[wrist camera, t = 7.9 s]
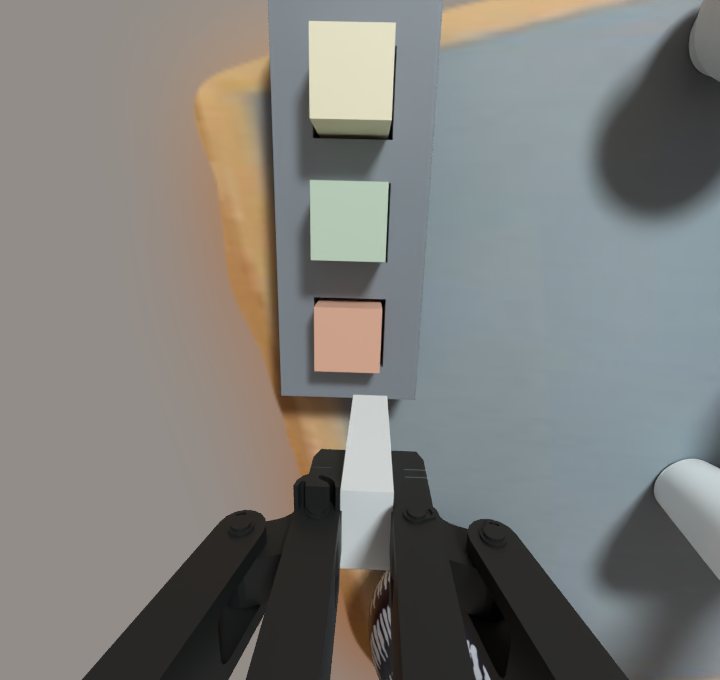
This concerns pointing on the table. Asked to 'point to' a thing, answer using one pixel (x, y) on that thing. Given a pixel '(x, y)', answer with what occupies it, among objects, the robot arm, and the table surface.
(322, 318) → the button terracotta
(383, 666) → the vase
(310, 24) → the button cream
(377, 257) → the button sage
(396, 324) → the panel
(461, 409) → the table surface
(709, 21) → the teacup
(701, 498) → the cup
